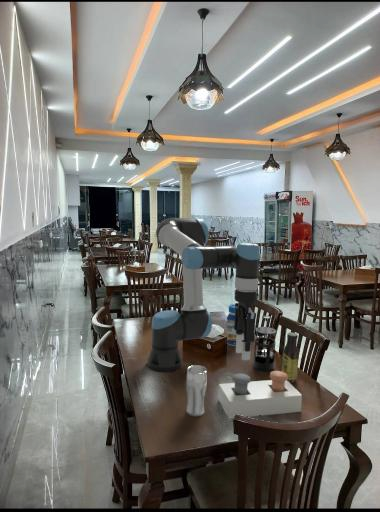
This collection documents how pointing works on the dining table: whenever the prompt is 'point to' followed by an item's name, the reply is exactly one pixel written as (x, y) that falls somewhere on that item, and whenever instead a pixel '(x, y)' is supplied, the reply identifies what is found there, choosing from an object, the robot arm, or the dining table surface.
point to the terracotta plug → (278, 380)
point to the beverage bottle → (231, 326)
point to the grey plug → (241, 384)
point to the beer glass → (196, 389)
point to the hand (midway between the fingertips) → (242, 355)
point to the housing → (259, 399)
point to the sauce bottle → (290, 357)
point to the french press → (261, 353)
